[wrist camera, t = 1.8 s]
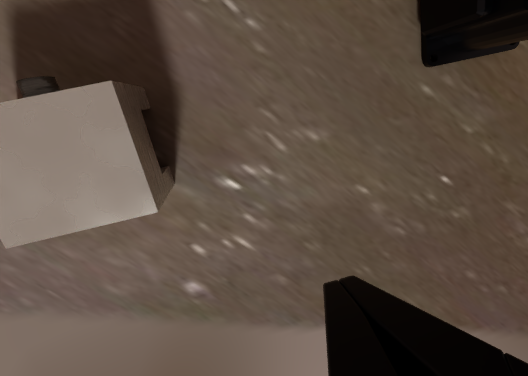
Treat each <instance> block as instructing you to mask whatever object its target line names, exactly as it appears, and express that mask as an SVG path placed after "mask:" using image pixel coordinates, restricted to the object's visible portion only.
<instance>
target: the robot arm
mask: <svg viewBox="0 0 528 376" xmlns="http://www.w3.org/2000/svg"><path fill="white" fill-rule="evenodd" d="M421 31H422V61H423V64H424V66H426V67H433V66H438V65H443V64H447V63H452V62H457V61H461V60H466V59H470V58H475V57H480V56H484V55H489V54H494V53H498V52H503V51H508V50H512V49H515V48H516V47H517V46H518V44H519V42H520V41H524V40H528V0H421ZM431 55H432V56H433V61H431V60H430V58H431ZM323 292H324V308H325V325H326V341H327V358H328V374H329V376H528V363H526V362H524V361H522V360H520V359H518V358H516V357H514V356H512V355H510V354H508V353H505V354H503V352H502V351H501V350H500V349H498V348H496V347H494V346H492V345H490V344H488V343H486V342H484V341H482V340H480V339H478V338H476V337H474V336H472V335H470V334H468V333H466V332H464V331H462V330H460V329H458V328H456V327H454V326H452V325H450V324H449V323H447V322H445V321H443V320H441V319H439V318H437V317H435V316H433V315H431V314H429V313H427V312H425V311H423V310H421V309H419V308H417V307H415V306H413V305H411V304H409V303H407V302H405V301H403V300H401V299H399V298H397V297H395V296H393V295H391V294H389V293H387V292H385V291H383V290H381V289H379V288H377V287H375V286H373V285H371V284H369V283H368V282H366V281H364V280H362V279H360V278H358V277H356V276H348V277H345V278H341V279H340V280H339V281H337V280H334V281H331V282H327V283H324V285H323Z"/></svg>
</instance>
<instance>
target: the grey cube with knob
mask: <svg viewBox="0 0 528 376" xmlns="http://www.w3.org/2000/svg"><path fill="white" fill-rule="evenodd" d="M16 83H17V85H18V87H19V89H20V91H21V94H22V96H23V98H21V99H17V100H12V101H7V102H2V103H0V239H1V241H2V243H3V244H4V246H5V248H10V247H15V246H19V245H23V244H27V243H31V242H35V241H40V240H44V239H48V238H52V237H56V236H60V235H65V234H69V233H73V232H77V231H81V230H86V229H90V228H94V227H98V226H102V225H106V224H111V223H115V222H119V221H123V220H127V219H131V218H136V217H140V216H144V215H148V214H152V213H157V212H158V211H159V210H160V208H161V206H162V205H163V203H164V201H165V199H166V198H167V196H168V194H169V193H170V191H171V189H172V188H173V186H174V184H175V183H174V179H173V176H172V173H171V170H170V167H169V166H167V167H163V168H160V166H159V163H158V160H157V157H156V154H155V151H154V148H153V145H152V142H151V139H150V136H149V133H148V130H147V127H146V124H145V121H144V118H143V115H142V112H141V110H145V109H150V105H149V102H148V99H147V95H146V92H145V89H144V87H140V86H135V85H131V84H126V83H121V82H116V81H112V80H111V81H106V82H101V83H96V84H91V85H86V86H81V87H76V88H71V89H66V90H61V91H60V89H59V86H58V84H57V82H56V79H55V77H33V78H26V79H22V80H19V81H17V82H16Z"/></svg>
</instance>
